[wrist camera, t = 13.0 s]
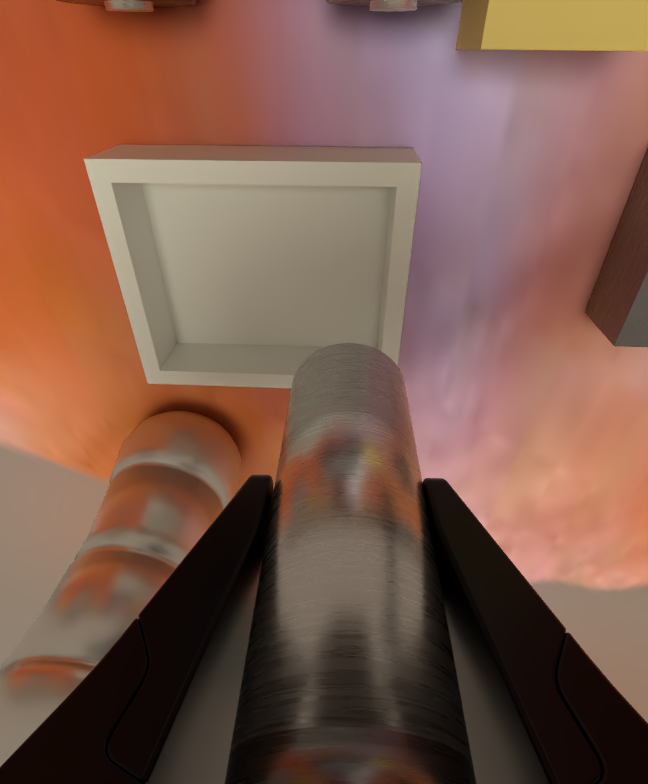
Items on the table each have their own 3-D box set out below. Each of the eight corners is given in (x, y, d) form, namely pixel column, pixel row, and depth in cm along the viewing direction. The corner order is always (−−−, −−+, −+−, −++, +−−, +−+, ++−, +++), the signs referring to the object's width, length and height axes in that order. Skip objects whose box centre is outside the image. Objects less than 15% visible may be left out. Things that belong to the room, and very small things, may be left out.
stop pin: (410, 343, 11) (528, 872, 4) (400, 435, 13) (468, 917, 6) (288, 342, 11) (183, 853, 4) (294, 433, 13) (228, 903, 6)
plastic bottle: (147, 379, 25) (-223, 964, 9) (264, 420, 26) (122, 993, 10) (129, 454, 29) (-155, 964, 13) (232, 487, 30) (92, 986, 14)
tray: (412, 147, 18) (421, 163, 15) (390, 356, 23) (394, 392, 21) (119, 144, 18) (83, 158, 16) (168, 349, 24) (147, 383, 21)
